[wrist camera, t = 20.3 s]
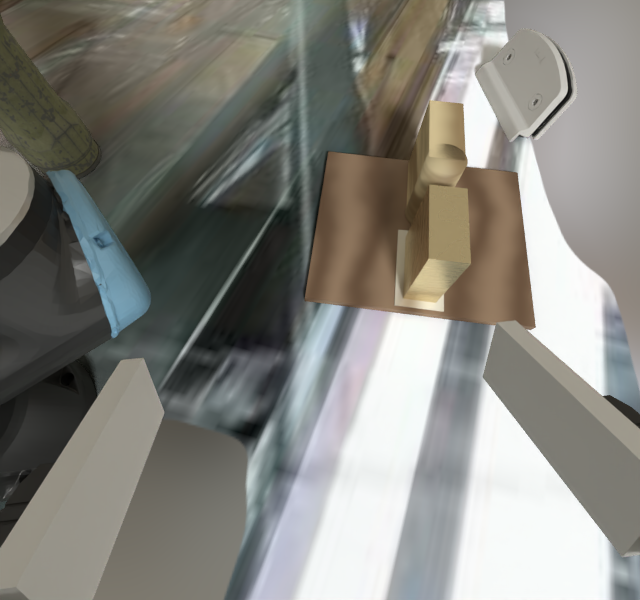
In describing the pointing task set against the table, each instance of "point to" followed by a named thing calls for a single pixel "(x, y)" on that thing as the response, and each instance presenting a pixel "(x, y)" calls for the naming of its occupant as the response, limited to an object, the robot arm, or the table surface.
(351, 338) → the table surface
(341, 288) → the mounting board
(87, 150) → the stone statue
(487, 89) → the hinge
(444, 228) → the tan wooden brick
